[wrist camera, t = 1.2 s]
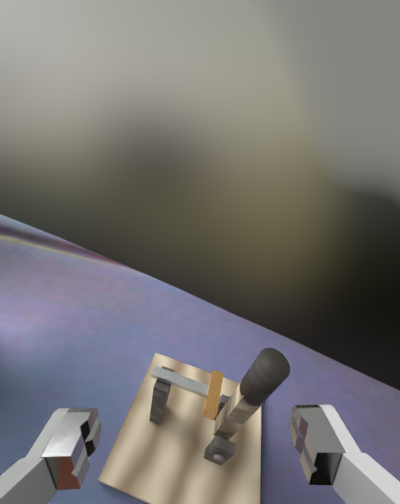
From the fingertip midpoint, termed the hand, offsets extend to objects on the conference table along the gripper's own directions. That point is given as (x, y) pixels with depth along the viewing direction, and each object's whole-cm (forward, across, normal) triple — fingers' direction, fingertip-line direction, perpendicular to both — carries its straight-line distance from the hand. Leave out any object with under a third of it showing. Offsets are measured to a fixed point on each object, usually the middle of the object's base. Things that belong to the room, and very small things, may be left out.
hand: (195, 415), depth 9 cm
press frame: (+20, +1, +34) cm, 40 cm away
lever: (+17, -4, +28) cm, 34 cm away
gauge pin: (+16, +2, +18) cm, 24 cm away
